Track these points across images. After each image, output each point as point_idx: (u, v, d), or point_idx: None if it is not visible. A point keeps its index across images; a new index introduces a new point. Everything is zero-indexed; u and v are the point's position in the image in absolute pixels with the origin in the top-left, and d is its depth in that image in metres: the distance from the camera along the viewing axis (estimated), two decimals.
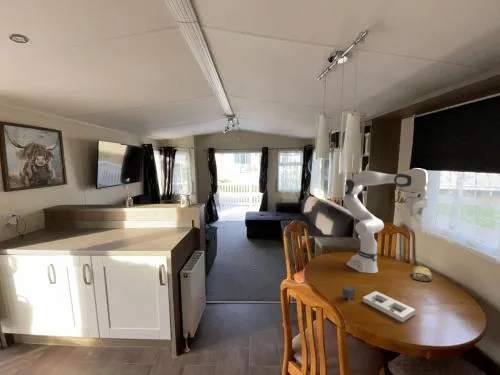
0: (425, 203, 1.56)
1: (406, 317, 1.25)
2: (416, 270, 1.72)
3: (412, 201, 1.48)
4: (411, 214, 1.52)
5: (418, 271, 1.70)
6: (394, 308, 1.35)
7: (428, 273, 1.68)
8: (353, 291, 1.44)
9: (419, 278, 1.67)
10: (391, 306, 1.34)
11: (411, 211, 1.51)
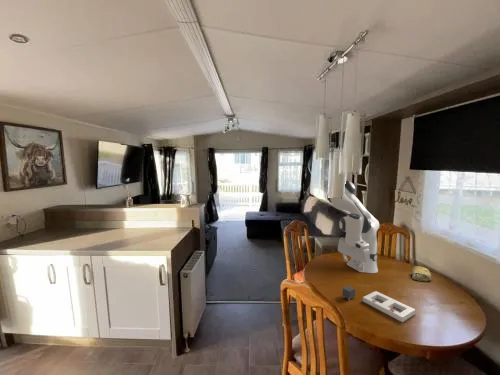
0: None
1: (406, 317, 1.25)
2: (415, 270, 1.71)
3: (369, 252, 1.37)
4: (359, 265, 1.40)
5: (417, 271, 1.70)
6: (394, 308, 1.35)
7: (427, 273, 1.68)
8: (353, 291, 1.44)
9: (419, 278, 1.67)
10: (391, 306, 1.34)
11: (361, 262, 1.39)
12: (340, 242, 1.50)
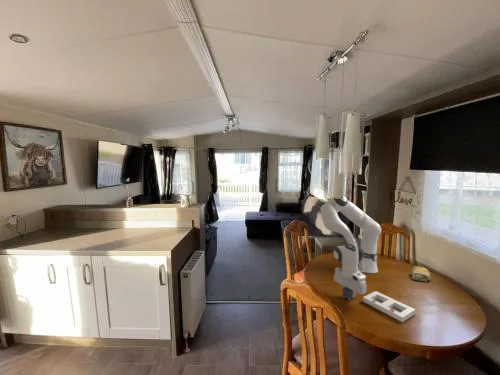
0: None
1: (406, 317, 1.25)
2: (415, 270, 1.71)
3: (365, 284, 1.38)
4: (353, 295, 1.42)
5: (417, 271, 1.70)
6: (394, 308, 1.35)
7: (427, 273, 1.68)
8: None
9: (418, 278, 1.67)
10: (391, 306, 1.34)
11: (355, 292, 1.42)
12: (336, 272, 1.51)
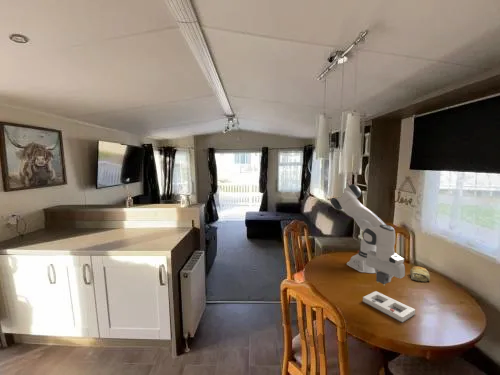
0: None
1: (406, 317, 1.25)
2: (414, 270, 1.71)
3: (404, 267, 1.25)
4: (389, 280, 1.30)
5: (416, 271, 1.69)
6: (394, 308, 1.35)
7: (426, 273, 1.68)
8: (388, 275, 1.32)
9: (418, 278, 1.66)
10: (391, 306, 1.34)
11: (391, 277, 1.30)
12: (369, 255, 1.39)
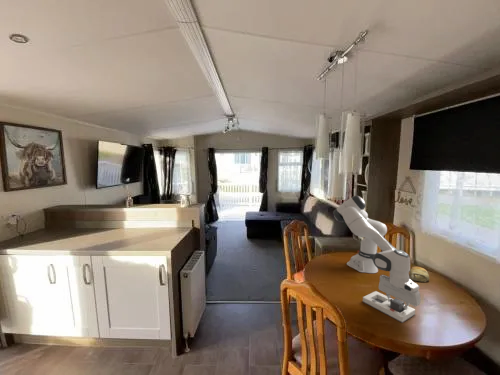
0: None
1: (406, 317, 1.25)
2: (414, 271, 1.71)
3: (419, 295, 1.23)
4: (406, 307, 1.27)
5: (416, 272, 1.69)
6: None
7: (426, 273, 1.67)
8: (402, 304, 1.30)
9: (417, 279, 1.66)
10: None
11: (408, 304, 1.26)
12: (382, 280, 1.36)
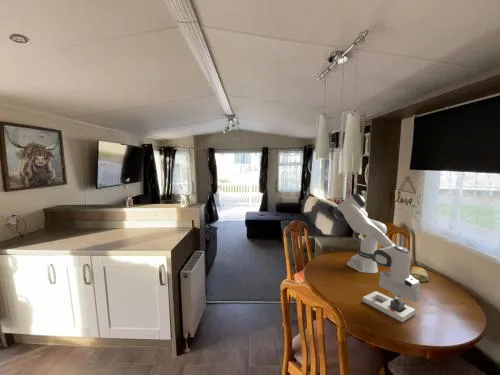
0: None
1: (406, 317, 1.25)
2: (413, 271, 1.70)
3: (420, 291, 1.23)
4: (400, 300, 1.30)
5: (415, 272, 1.69)
6: None
7: (425, 274, 1.67)
8: (403, 304, 1.30)
9: (416, 279, 1.66)
10: None
11: (402, 297, 1.29)
12: (382, 276, 1.36)
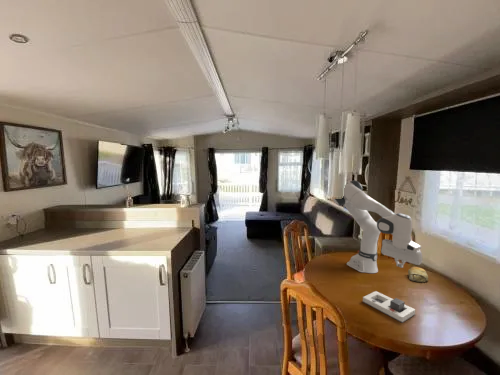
0: None
1: (406, 317, 1.25)
2: (412, 271, 1.70)
3: (421, 254, 1.29)
4: (402, 265, 1.35)
5: (415, 272, 1.69)
6: None
7: (424, 274, 1.67)
8: (402, 304, 1.30)
9: (416, 279, 1.66)
10: None
11: (404, 262, 1.35)
12: (385, 244, 1.41)
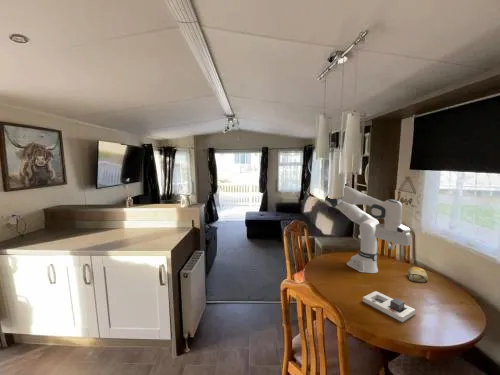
0: None
1: (406, 317, 1.25)
2: (412, 271, 1.70)
3: (410, 236, 1.39)
4: (393, 247, 1.46)
5: (414, 272, 1.68)
6: None
7: (424, 274, 1.67)
8: (402, 304, 1.30)
9: (416, 279, 1.65)
10: None
11: (395, 244, 1.45)
12: (378, 228, 1.52)
